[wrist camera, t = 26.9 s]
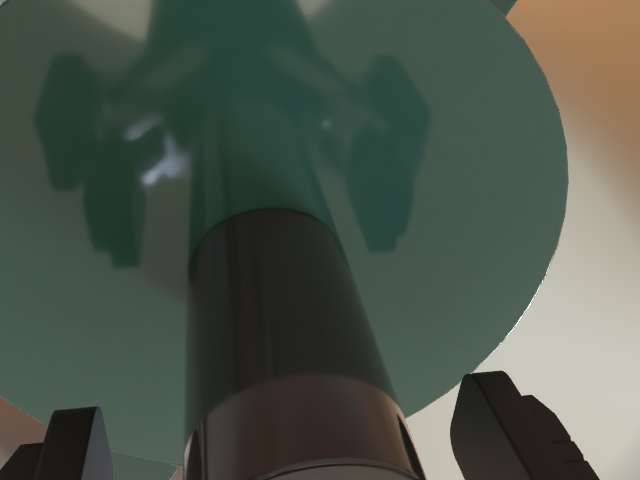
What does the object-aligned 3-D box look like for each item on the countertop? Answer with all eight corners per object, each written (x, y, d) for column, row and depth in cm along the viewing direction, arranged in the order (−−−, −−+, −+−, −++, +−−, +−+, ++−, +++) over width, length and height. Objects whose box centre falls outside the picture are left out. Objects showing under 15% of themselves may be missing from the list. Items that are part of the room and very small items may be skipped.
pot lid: (-135, 370, 14) (-367, 751, 8) (42, -316, 8) (-383, -733, 2) (350, 466, 20) (413, 723, 14) (662, 122, 14) (994, 328, 8)
